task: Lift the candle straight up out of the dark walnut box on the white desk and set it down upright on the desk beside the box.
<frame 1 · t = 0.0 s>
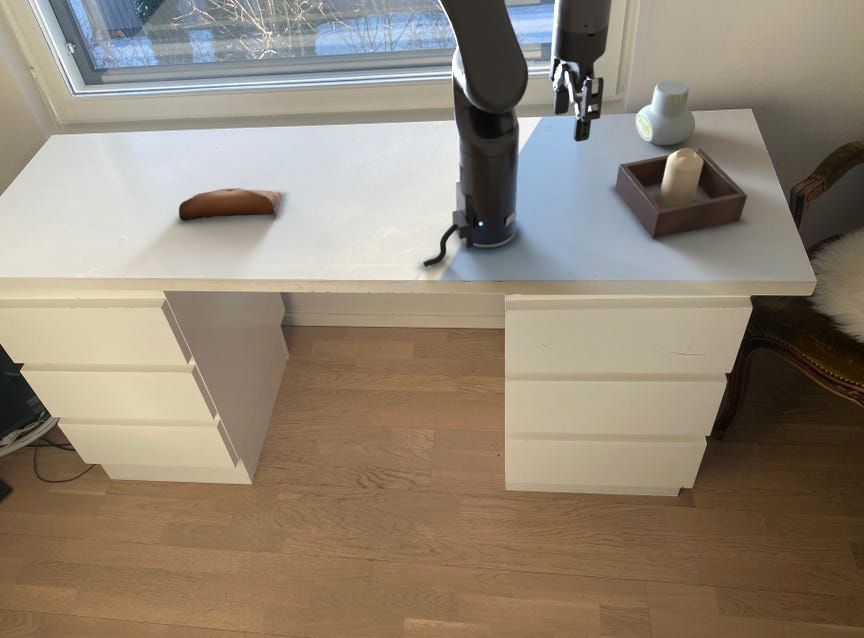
hand: (570, 126, 111), 17 cm above the table, tool pointing down, fingers open, 8 cm apart
candle: (674, 205, 123), resting in walnut box
walnut box: (674, 204, 123), on the table
air freshener: (661, 138, 138), on the table
sunglasses case: (232, 209, 135), on the table
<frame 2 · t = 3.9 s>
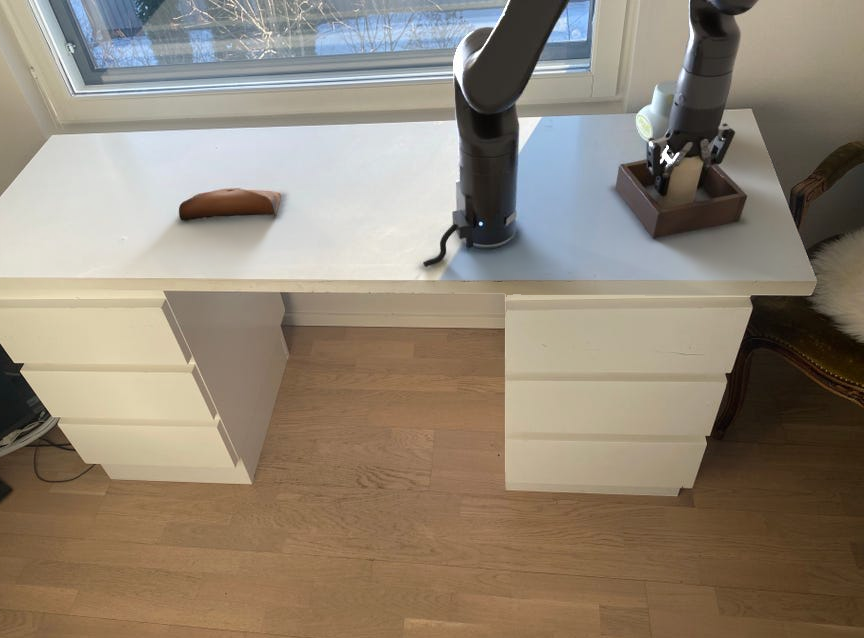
hand: (678, 189, 121), 3 cm above the table, tool pointing down, fingers closed on candle, 5 cm apart
candle: (674, 205, 123), resting in walnut box, touching gripper
everything else where it was.
when the fingers open (3 cm above the table, at t = 11.4 s): candle stays where it is, on the table.
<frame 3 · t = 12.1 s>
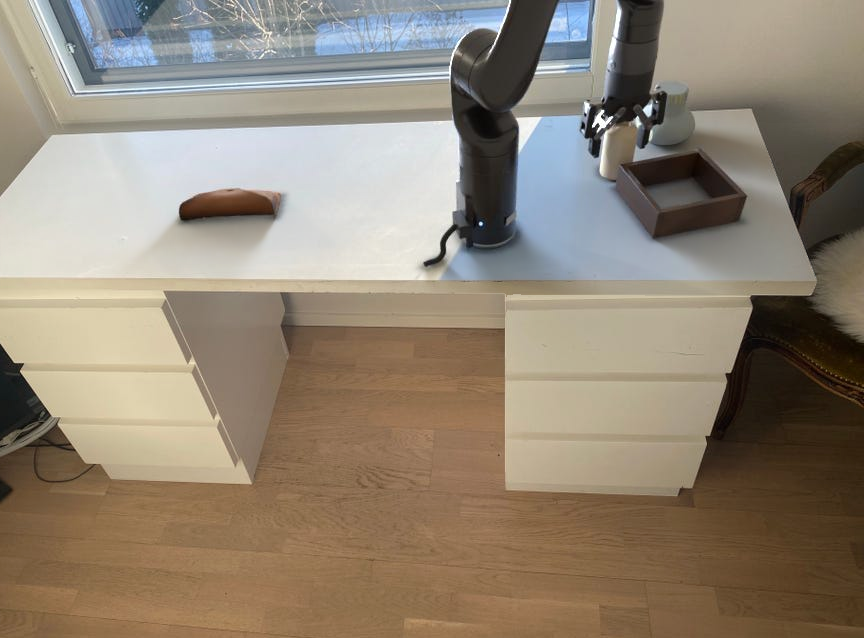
hand: (617, 151, 128), 4 cm above the table, tool pointing down, fingers open, 8 cm apart
candle: (614, 173, 131), on the table
everything else where it was.
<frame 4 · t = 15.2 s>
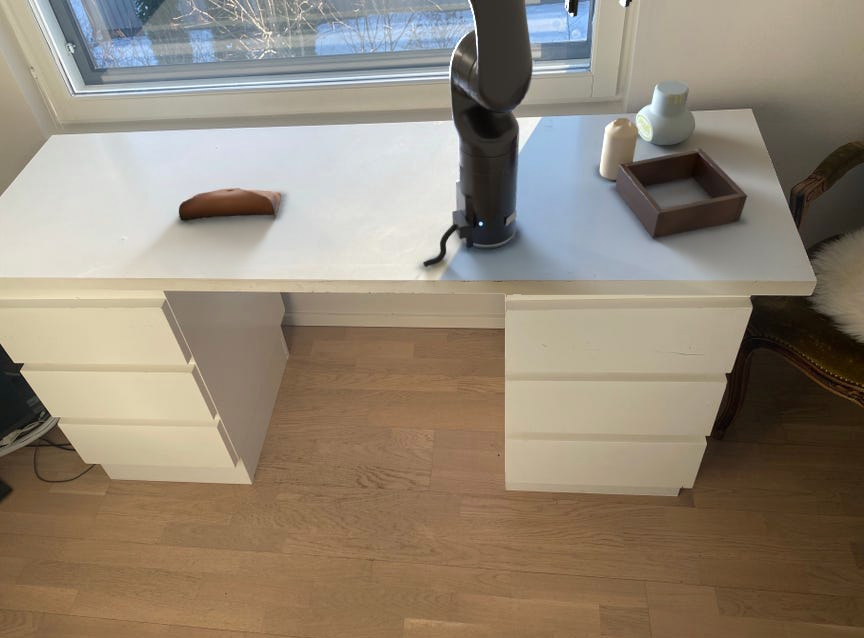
hand: (598, 10, 113), 28 cm above the table, tool pointing down, fingers open, 8 cm apart
nothing on the table moved.
at the end: candle inside the target area (0.1 cm from its centre), on the table; candle tilted 0°; the gripper is holding nothing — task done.
